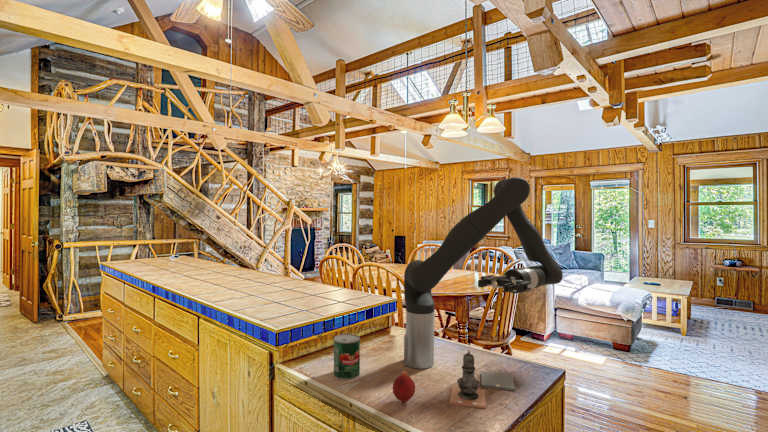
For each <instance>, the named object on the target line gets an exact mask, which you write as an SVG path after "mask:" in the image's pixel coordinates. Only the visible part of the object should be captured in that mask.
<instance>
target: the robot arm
mask: <svg viewBox="0 0 768 432" xmlns="http://www.w3.org/2000/svg"><path fill="white" fill-rule="evenodd" d="M530 193H531V186H530V183H529V182H528V181H527V179H525V178H522V177H519V176H514V177H508V178H504V179H501V180H499V181H498V182H496V184H495V185H494V188H493V195H494V196H493V197H492V198H491V199H490V200H489V201H488V202H486V203H484V204H483V205H481V206H480V207H478V208H476V209H474V210H472V211H471V212H469V213H468V214H467V215H465V216H463V218H461V220H459V221H458V222H457V223H456V224H455V225H454V226H453V227H452V228H451V230H449V232H448V233H447V234H446V236H445V239H444V240H443V242H442V243H441V245H440V247H439V248H438V249H437V250H435V252H433V254H431V255H430V256H429V257H427V258H426V259H425V260H421V259H415V260H412V261H410V262H409V263H408V264H407V265H406V267H405V270H404V274H403V276H404V277H403V285H404V286H403V289H404V292H403V293H404V302H405V333H404V334H403V335H404V336H403V338H404V339H403V365H404V366H407V367H409V368H412V369H413V368H414V369H419V370H420V369H421V370H423V369H428V368H431V367H433V366H434V363H435V310H436V309H435V307H436V306H435V302H434V299H433V295H432V289H434V288H435V287H436V286H437V285H439V282H441V280H442V279H443V278H444V276H446V274H447V273H448V272H449V271H450V270H451V269H452V267H453V266H454V265H456V264H457V263H458V262H459V261H460V260H461V259H462V258H464V257H465V256H466V255H467V254H468V253H469V251H470V252H471V250H472V249H473V248H474V247H475V246H476V245H478V244H479V243H480V242H481V241H482V240H483V239H484V238H485V237H486V236H487V235H488V234H489V233H490V232H491V231H492V230H493V229H494V228H496V226H497V225H498V224H499V223H500V222H501V221H502V220H503V219H504V218H505V217H507V219H508V221H509V222H510V224H511V226H512V228H513V229H514V232H515V233H516V235H517V238H518V239H519V242H520V245H521V247H522V249H523V252H524V254H525V257H526V258H527V260H528V261H530V262H535V263H539V264H538V265H532V266H527V267H516V268H511V269H508V270H506V271H505V272H504V274H503V275H502V274H501V275H494V274H489V275H484V276H483V275H482V276H480V279H478V280H477V287H478V288H486V287H492V288H493V289H494V288H495V289H499V288H500V289H503V290H502V291H503V293H511V294H520V293H525V292H527V291H531V290H534V289H536V288H539V287H541V286H546V285H547V286H548V285H556V284H560V282H562V280H563V277H564V276H563V275H564V274H563V270H562V269H561V266H560V265H559V263H558V262H557V260H555V258H554V257H553V256H552V254H551V253H550V252H549V251H548V249H547V247H546V245H545V242H544V239H543V237H542V235H541V234H540V232H539V230H538V229H537V227H536V226H535V225H534V223H532V221H531V219H529V217H528V216H527V215H526V213H525V211H524V209H523V208H522V204H523V203H525V201H527V199H528V198H529V195H530Z"/></svg>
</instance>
